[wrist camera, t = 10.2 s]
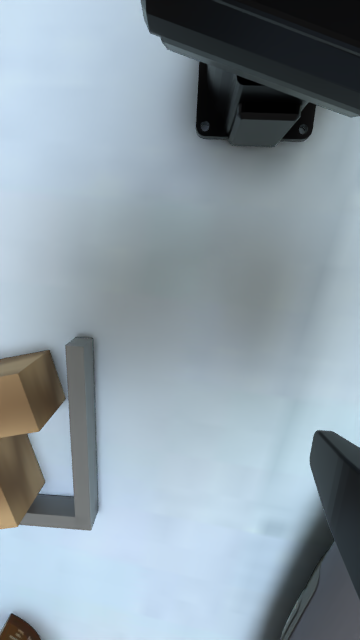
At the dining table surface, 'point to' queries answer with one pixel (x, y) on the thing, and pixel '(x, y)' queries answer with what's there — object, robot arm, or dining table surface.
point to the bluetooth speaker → (326, 604)
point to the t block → (23, 428)
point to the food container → (18, 630)
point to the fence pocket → (75, 449)
